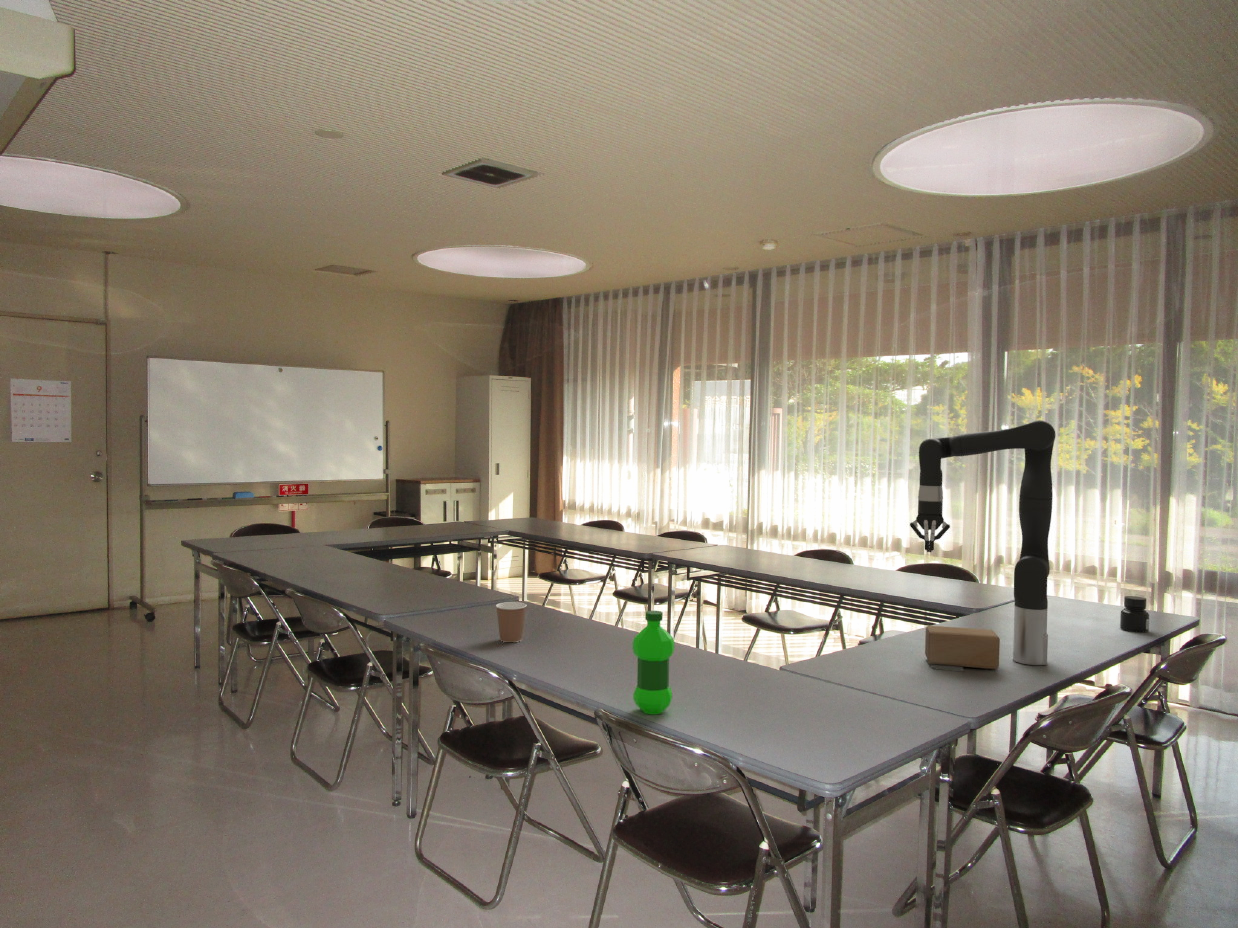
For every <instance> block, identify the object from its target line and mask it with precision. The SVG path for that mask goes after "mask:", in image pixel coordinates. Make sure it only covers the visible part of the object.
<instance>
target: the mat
mask: <svg viewBox="0 0 1238 928" xmlns="http://www.w3.org/2000/svg"><path fill="white" fill-rule="evenodd" d="M930 668H937V669H936V670H940V669H944V670H943V671H949V670H956V671H955V672H959V671H964V667H963V666H951V665H938V664H930Z"/></svg>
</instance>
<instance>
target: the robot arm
mask: <svg viewBox="0 0 1238 928" xmlns="http://www.w3.org/2000/svg"><path fill="white" fill-rule="evenodd" d="M1056 437H1057V436H1056V430H1055V427H1053V426H1052V424H1051V423H1050V422H1047V421H1046V420H1041V419H1037V420H1032V421H1030V422H1028V423H1025V424H1021V425H1019V426H1015V427H1011V428H1007V429H1001V430H1000V429H999V430H992V431H989V430H988V431H977V432H976V431H975V432H970V433H963V434H962V433H960V434H956V435H953V436H947V437H946V436H945V437H936V438H927V439H924V440H923V441H922V442H921V443H920V444H919V447H918V462H919V470H920V471H919V483H918V484H919V488H918V493H917V499H918V501H917V516H916V518H915V520H913V521H911V522H910V523H909V526H910V528H911V529H912V530H913V531H914V533H915V534H916V535H917V537H918V538H919V539H921V540H924V551H926V552H927V553H932V551H934V550H935V542H936V541H937V540H940V539H941V538H942V537H943V536H944V535H945V533H947V531H948V530H949V529H951V525H950V524H949V523H947V522H945V520H944V519H945V518H944V517H943V508H944V507H943V501H944V492H943V491H944V490H943V470H942V459H948V458H952V457H966V456H967V457H968V456H975V455H981V454H987V453H992V452H997V451H1003V450H1016V449H1017V450H1018V449H1020V450H1021V449H1022V450H1023V449H1024V467H1023V473H1022V477H1021V482H1020V488H1019V498H1018V499H1019V500H1018V501H1019V503H1018V516H1019V518H1018V519H1019V524H1020V531H1021V549H1020V555H1019V559H1018V561H1017V562H1016V563H1015V566H1014V570H1013V571H1014V572H1013V573H1014V574H1013V597H1014V608H1013V609H1014V610H1013V638H1012V640H1013V643H1012V644H1013V645H1012V646H1013V648H1012V660H1013V661H1014V662H1017V663H1020V664H1024V665H1029V666H1030V665H1031V666H1048V646H1049V645H1048V644H1049V643H1048V642H1049V635H1048V632H1047V631H1048V608H1049V607H1048V606H1049V603H1048V602H1049V601H1048V577H1049V575H1050V570H1051V569H1050V568H1051V567H1050V560H1049V534H1050V528H1051V523H1052V512H1053V511H1052V510H1053V499H1054V498H1053V479H1052V478H1053V477H1052V468H1051V467H1052V457H1053V450H1054V443H1055V441H1056ZM918 526H920V528H921V529H922V530H923V532H924V534H923V533H922V532H921V531H920V530H919V528H918ZM940 527H941V528H942V529H941V530H940V531H939V532H938V533H937V534H936V531H937V530H938V529H939V528H940ZM929 531H930V534H929ZM935 534H936V535H935Z"/></svg>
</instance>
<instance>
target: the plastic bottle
mask: <svg viewBox="0 0 1238 928" xmlns="http://www.w3.org/2000/svg"><path fill="white" fill-rule="evenodd" d="M644 615H645V620H646V622H647V625H646V627H644V628H642V630H641V631H640V632H638V633H637V635H635V636H634V639H633V641H632V650H633V652H632V653H633V654H634V655H635V656H636V657H637V677H636V678H637V679H636V680H637V681H636V682H637V686H636V687H635V689H634V692H633V696H632V697H633V698H632V699H633V701H634V703H635V705H636V706H637V707H638V708H639V709H640V710H641V711H642V712H643V713H644V714H648V715H658V714H662V713H663V712H664V711H666V709H667V708H668V707H669V706H670V704H671V702H672V700H673V691H672V689H671V687H670V682H669V680H670V658H671V656H672V655H673V654H674V651H675V640H674V637H673V636H672V635H671V634H670V633H669V632H668V631H667V630H665V628H664V627H662V626H661V621H663V611H660V610H647V611H645V614H644Z"/></svg>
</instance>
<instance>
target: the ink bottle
mask: <svg viewBox="0 0 1238 928" xmlns="http://www.w3.org/2000/svg"><path fill="white" fill-rule="evenodd" d="M1123 599H1124V600H1123V601H1124V602H1123V604H1124V608H1123V609H1121V610H1120V621H1119V622H1120V623H1119V628H1120V629H1122V630H1123V631H1126V632H1132V633H1148V632H1149V631H1150V613H1149V612H1148V611H1147V610H1146V609H1147V598H1146V597H1143V596H1136V595H1125V596H1124V597H1123Z"/></svg>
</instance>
